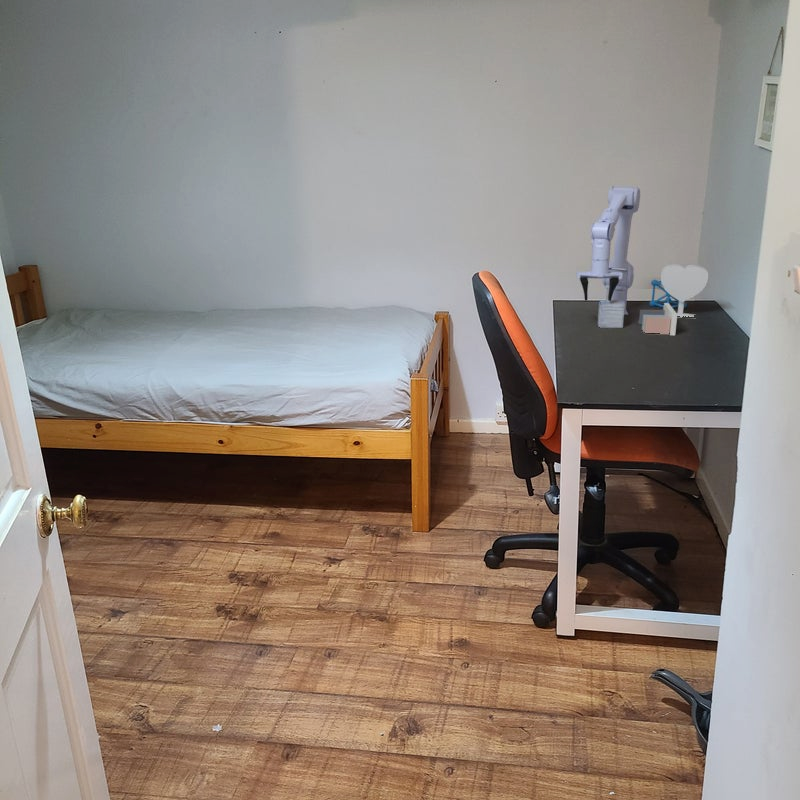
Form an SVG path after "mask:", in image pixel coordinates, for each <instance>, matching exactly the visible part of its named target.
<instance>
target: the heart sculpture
mask: <svg viewBox="0 0 800 800" xmlns="http://www.w3.org/2000/svg"><path fill="white" fill-rule="evenodd" d="M708 280H709V272H708V269H707V268H706V267H704V266H702V265H698V264H694V263H693V264H688V265H687V266H684V265H682V264H680V263H672V264H668V265H666V266H664V267H662V269H661V272H660V281H661V284H662V285H663V286H662V288H664V289H665V290H666V291H667V292H668V293H669V294H670V295H671V296H673V297H674V298H676V299H677V300H679V305H678V304H677V305H678V307H677V312H676V313H677V316H680V317H679V318H682V317H683V316H684V317H685V316H686V317H688V316H689V317H694V315H695V314H694V313H685V312H684V309H685V308H684V301H685V302H686V301H687V300H689V299H691V298H693V297H695V296H697V295H698V294H700V293H701V292H702V291H703V290H704V289H705V287H706V286H707V284H708Z"/></svg>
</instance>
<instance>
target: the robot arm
mask: <svg viewBox="0 0 800 800" xmlns="http://www.w3.org/2000/svg"><path fill="white" fill-rule="evenodd" d="M607 194H608V195H607V202H608V204H609V205H608V206H607V208H605V209H604V210H603V211H602V213H601V214H600V216H599V217H598V220H597V221H595V222H593V223H592V225H591V227H590V239H591V244H590V245H591V246H592V248H591V250H592V251H591V262H590V263H591V264H590V270H589V271H587V270H586V271H576V279H579V281H580V284H581V287H582V290H583V295H584V297H583V298H584V301H586V302H587V301H588V295H589V294H588V291H589V290H588V287H589V279H602V281H601V282H602V284H603V286H604V287H605V289H606V291H605V292H606V294H605V296H606V297H605V300H609V301H611V300H622V301H623V302H624V304H625V306H624V316H625V315H626V316H628V315H629V313H628V311H627V301H628V289H630V288H631V287H632V286H633V284H634V270H635V269H634V266H633V265H632V264H631V263H630V261H628V253H629V252H628V251H629V243H630V237H631V236H630V235H631V228H632V227H631V226H632V221H633V216H634V213H637V212H638V211H639V209H640V200H641V189H640V188H639V187H638V186H636V187H633V186H632V187H631V186H629V187H628V186H614V185H613V186H610V188H609V189H608V193H607ZM615 227H616V228H615ZM615 231H616V232H615ZM614 234H615V241H614V247H613V248H614V250H613V255H612V256H613V257H612V260H611V261H610V257H611V244H612V241H613V239H614Z"/></svg>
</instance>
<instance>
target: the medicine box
mask: <svg viewBox="0 0 800 800" xmlns="http://www.w3.org/2000/svg"><path fill="white" fill-rule="evenodd" d="M598 302H599V303H598V314H597V326H598V328H599V327H600V329H604V328H605V329H607V328H608V329H620V328H621V329H623V327H624V316H625V315H624V306H625V304H624V302H623V301H622V300H611V301H609V300H606V299H605V300H604V299H601V300H599V301H598Z"/></svg>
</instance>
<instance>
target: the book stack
mask: <svg viewBox="0 0 800 800" xmlns="http://www.w3.org/2000/svg"><path fill="white" fill-rule="evenodd" d="M663 305H664V307H662V309H639V318H638V320H637V323H639V324H642V325H641V330H643V331H642V333H644V332H645V333H660V334H659V335H670V336H676V333H677V332H676V330H677V321H678V317H677V313H678V312H676V311H675V309H674V308H672V307H671V306H672V305H671V303H670V304H669V303H665V302H664V303H663ZM639 324H638V325H639ZM645 333H644V334H645ZM669 333H670V334H669Z"/></svg>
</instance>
